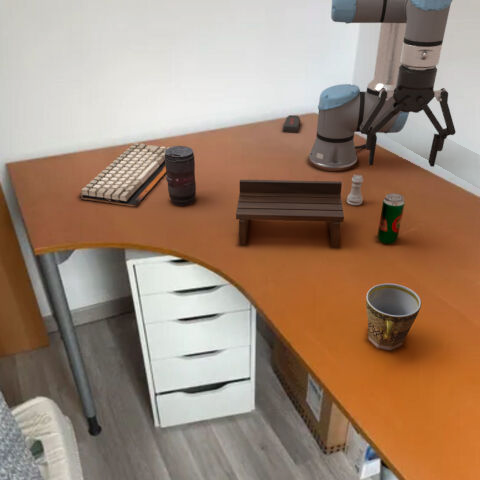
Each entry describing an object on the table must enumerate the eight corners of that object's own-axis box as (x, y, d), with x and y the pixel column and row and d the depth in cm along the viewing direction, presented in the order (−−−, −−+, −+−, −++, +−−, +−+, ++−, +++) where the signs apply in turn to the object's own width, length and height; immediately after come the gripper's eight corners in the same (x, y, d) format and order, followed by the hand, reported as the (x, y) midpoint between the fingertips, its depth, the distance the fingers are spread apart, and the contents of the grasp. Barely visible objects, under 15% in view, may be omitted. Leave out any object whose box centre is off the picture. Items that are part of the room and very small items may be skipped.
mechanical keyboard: (136, 207, 148) (134, 196, 146) (76, 200, 153) (74, 189, 151) (183, 155, 177) (182, 145, 175) (132, 150, 181) (130, 140, 179)
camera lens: (193, 208, 147) (189, 157, 138) (165, 206, 149) (159, 155, 139) (200, 195, 153) (197, 145, 144) (174, 192, 155) (169, 144, 146)
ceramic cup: (362, 318, 109) (369, 279, 103) (412, 326, 106) (422, 287, 100) (355, 361, 99) (361, 321, 93) (409, 372, 97) (420, 331, 91)
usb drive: (283, 131, 191) (283, 124, 190) (287, 120, 201) (287, 113, 199) (297, 132, 191) (297, 125, 189) (300, 121, 200) (301, 113, 198)
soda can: (374, 235, 134) (381, 192, 127) (393, 234, 135) (401, 191, 127) (380, 246, 130) (387, 202, 123) (399, 244, 131) (408, 201, 123)
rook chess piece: (364, 200, 149) (367, 174, 144) (360, 207, 146) (363, 181, 141) (348, 197, 151) (352, 171, 146) (344, 204, 147) (347, 178, 143)
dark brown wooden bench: (240, 217, 143) (240, 178, 136) (337, 219, 141) (341, 180, 134) (236, 245, 132) (235, 204, 125) (340, 248, 130) (345, 206, 123)
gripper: (358, 70, 105) (346, 169, 118) (487, 70, 103) (460, 171, 116) (354, 60, 111) (344, 156, 124) (476, 60, 109) (452, 157, 122)
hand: (400, 163), depth 120 cm, fingers open, 13 cm apart
